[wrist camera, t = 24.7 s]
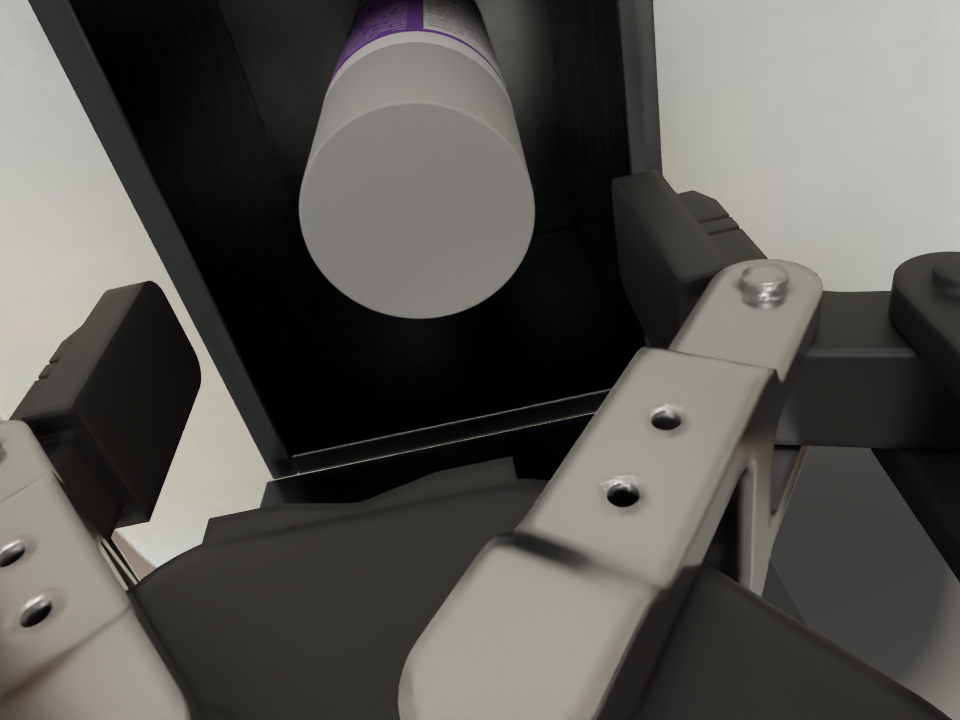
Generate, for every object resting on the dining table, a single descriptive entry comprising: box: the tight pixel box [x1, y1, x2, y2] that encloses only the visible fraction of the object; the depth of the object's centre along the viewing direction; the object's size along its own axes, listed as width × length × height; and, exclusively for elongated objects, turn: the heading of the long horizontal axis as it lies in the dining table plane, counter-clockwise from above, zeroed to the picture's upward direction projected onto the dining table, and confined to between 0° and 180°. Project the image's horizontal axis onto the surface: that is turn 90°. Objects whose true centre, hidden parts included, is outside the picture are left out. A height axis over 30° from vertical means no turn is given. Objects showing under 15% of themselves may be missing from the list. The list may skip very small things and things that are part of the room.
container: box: [299, 0, 535, 319], centre depth 20 cm, size 5×5×15 cm
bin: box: [28, 0, 662, 479], centre depth 23 cm, size 16×13×12 cm
